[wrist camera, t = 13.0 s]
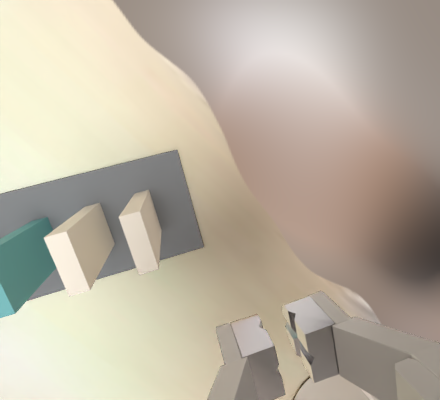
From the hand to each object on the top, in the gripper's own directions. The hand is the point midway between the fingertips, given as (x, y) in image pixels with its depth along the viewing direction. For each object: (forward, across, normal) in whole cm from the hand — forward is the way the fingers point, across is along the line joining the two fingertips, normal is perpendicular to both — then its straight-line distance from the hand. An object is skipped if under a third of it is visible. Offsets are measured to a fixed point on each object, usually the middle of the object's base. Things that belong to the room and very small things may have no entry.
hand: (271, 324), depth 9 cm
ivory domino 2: (+23, -6, 0) cm, 23 cm away
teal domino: (+23, -17, 0) cm, 28 cm away
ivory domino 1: (+23, -11, 0) cm, 25 cm away
